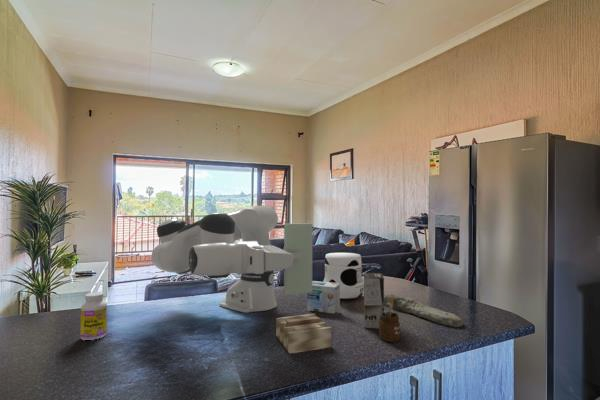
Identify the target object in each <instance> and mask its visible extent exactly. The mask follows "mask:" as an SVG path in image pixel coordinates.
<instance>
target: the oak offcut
mask: <svg viewBox="0 0 600 400" xmlns="http://www.w3.org/2000/svg"><path fill="white" fill-rule="evenodd" d="M316 328H321V327H320V326H319V325H311V326H303V327H296V328H294V331H301V330H308V329H316Z"/></svg>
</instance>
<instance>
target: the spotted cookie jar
mask: <svg viewBox="0 0 600 400" xmlns="http://www.w3.org/2000/svg"><path fill="white" fill-rule="evenodd" d="M362 266H363V265H362V256H361V254H359V253H355V252H329V253H326V254H325V257H324V279H323V281H322V282H331V283H340V301H351V300H356V299H359V298H361V297H362V296H363V295H364V279H363V276H362V269H363V267H362Z"/></svg>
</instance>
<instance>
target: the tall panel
mask: <svg viewBox="0 0 600 400" xmlns="http://www.w3.org/2000/svg"><path fill="white" fill-rule="evenodd" d="M283 230H284V231H283V232H284V233H283V234H284V235H283V236H284V237H283V239H284V240H283V241H284V242H283V243H284V244H283V245H284V246H283V248H284V249H283V250H285V251H287V252H289V253H293V252H299V253H301V258H300V259H294V260H293V266H292V267H291V268H287V269H283V294H285V295H297V294H307V293H309V292H312V282H313V223H310V222H306V223H303V222H302V223H301V222H299V223H284V226H283Z"/></svg>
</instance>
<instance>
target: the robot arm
mask: <svg viewBox="0 0 600 400" xmlns="http://www.w3.org/2000/svg"><path fill="white" fill-rule="evenodd" d="M278 222H279V216H278V213H277V212H276V211H275V210H274V209H273V208H271V207H270V206H267V205H250V206H247V207H245V208H243V209H242V210H240V211H239V210H238V211H236V212H235V211H234V212H230V213H223V212H214V213H213V212H212V213H210V214H207V215H205V216H203V217H202V218H201V219H200V220H197V221H196V222H193V223H190V222H186V221H185V220H183V219H180V218H170V219H166V220H164V221H162V222H161V223H160V224H159V225H158V226H157V228H156V234H157V237H158V238H159V244H158V245H157V246H155V247H154V249H152V252H151V254H150V255H151V262H152V264H153V265H154V266H155V267H156V268H158V269H159V270H161V271H164V272H168V273H174V274H177V275H185V274H189V273H191V274H192V275H195V276H206V277H207V278H209V279H222V278H228V277H229V275H231V274H237V275H239V276H240V277H239V279H238V280H237V281H236V282H235V283H233V284H232V285H231V286H229V287H228V289H227V291H226V295H225V299H222V300H221V301H220V302H219V306H220V307H223V308H226V309H229V310H234V311H237V312H242V313H244V314H247V313H253V312H263V311H269V310H272V309H274V308H277V306H278V303H277V300H276V296H275V290H274V287H275V286H274V283H275V271H280V270H284V269H287V268H291V267H292V266H293V260H294V259H300V258H301V253H299V252H293V253H289V252H287V251H285V250H284V249H282V248H280V247H277V246H276V245H272V243H271V240H270V233H269V232H271V231H272V230H273V229H274V228H275V227H276V226H277V225H278ZM239 240H241V241H239ZM235 241H236V242H235Z"/></svg>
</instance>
